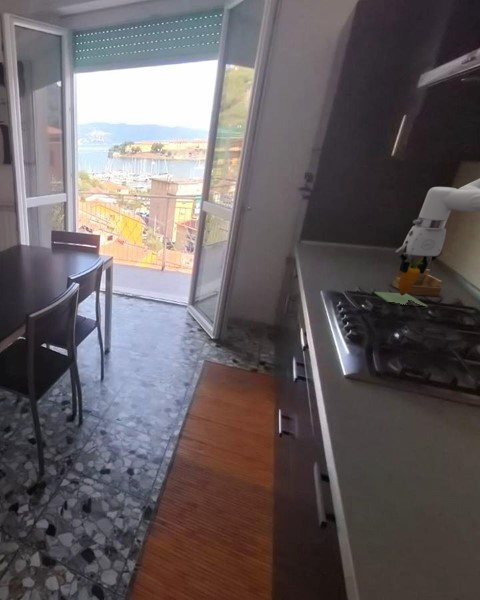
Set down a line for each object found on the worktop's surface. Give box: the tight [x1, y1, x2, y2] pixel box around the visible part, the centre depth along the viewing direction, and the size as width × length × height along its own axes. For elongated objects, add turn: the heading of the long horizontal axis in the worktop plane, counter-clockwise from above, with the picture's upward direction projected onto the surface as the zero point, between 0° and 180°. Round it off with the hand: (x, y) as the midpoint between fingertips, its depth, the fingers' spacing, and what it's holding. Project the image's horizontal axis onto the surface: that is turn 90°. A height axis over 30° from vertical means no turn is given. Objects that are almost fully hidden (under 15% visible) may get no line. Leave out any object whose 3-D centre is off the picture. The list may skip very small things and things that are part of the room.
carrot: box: [398, 257, 423, 296], centre depth 134 cm, size 5×5×15 cm
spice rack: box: [391, 267, 443, 297], centre depth 145 cm, size 10×11×8 cm
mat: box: [373, 291, 429, 309], centre depth 138 cm, size 12×12×1 cm
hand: (411, 271), depth 133 cm, fingers closed on carrot, 4 cm apart
